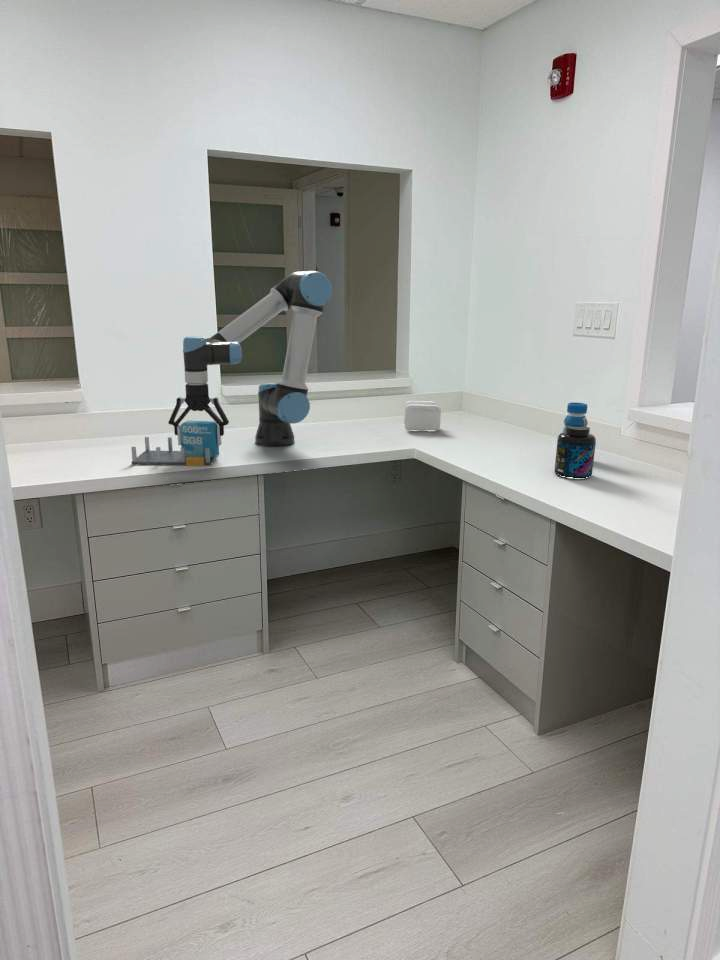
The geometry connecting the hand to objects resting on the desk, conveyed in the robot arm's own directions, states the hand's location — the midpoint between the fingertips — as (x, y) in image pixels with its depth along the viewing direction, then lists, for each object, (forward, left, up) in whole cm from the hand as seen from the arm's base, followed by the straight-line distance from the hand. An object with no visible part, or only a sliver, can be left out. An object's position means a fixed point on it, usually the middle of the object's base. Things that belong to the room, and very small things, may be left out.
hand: (200, 444), depth 232 cm
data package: (0, 0, -4) cm, 4 cm away
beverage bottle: (-133, -8, -6) cm, 133 cm away
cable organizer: (-83, -55, -6) cm, 99 cm away
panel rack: (+8, 0, -5) cm, 10 cm away
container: (-126, +15, -6) cm, 127 cm away
